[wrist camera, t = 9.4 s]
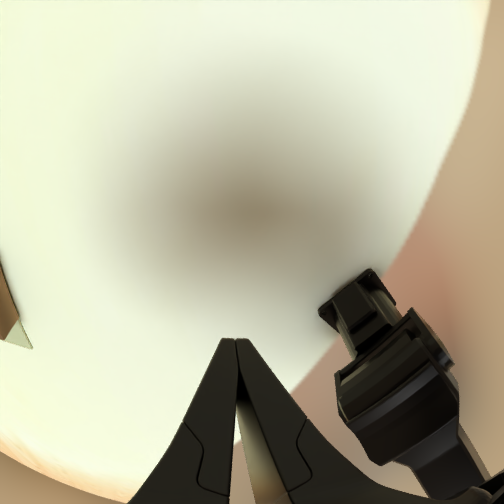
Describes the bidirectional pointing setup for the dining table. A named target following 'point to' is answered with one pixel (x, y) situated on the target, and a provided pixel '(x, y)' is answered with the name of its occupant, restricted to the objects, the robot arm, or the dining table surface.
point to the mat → (18, 336)
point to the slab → (6, 309)
